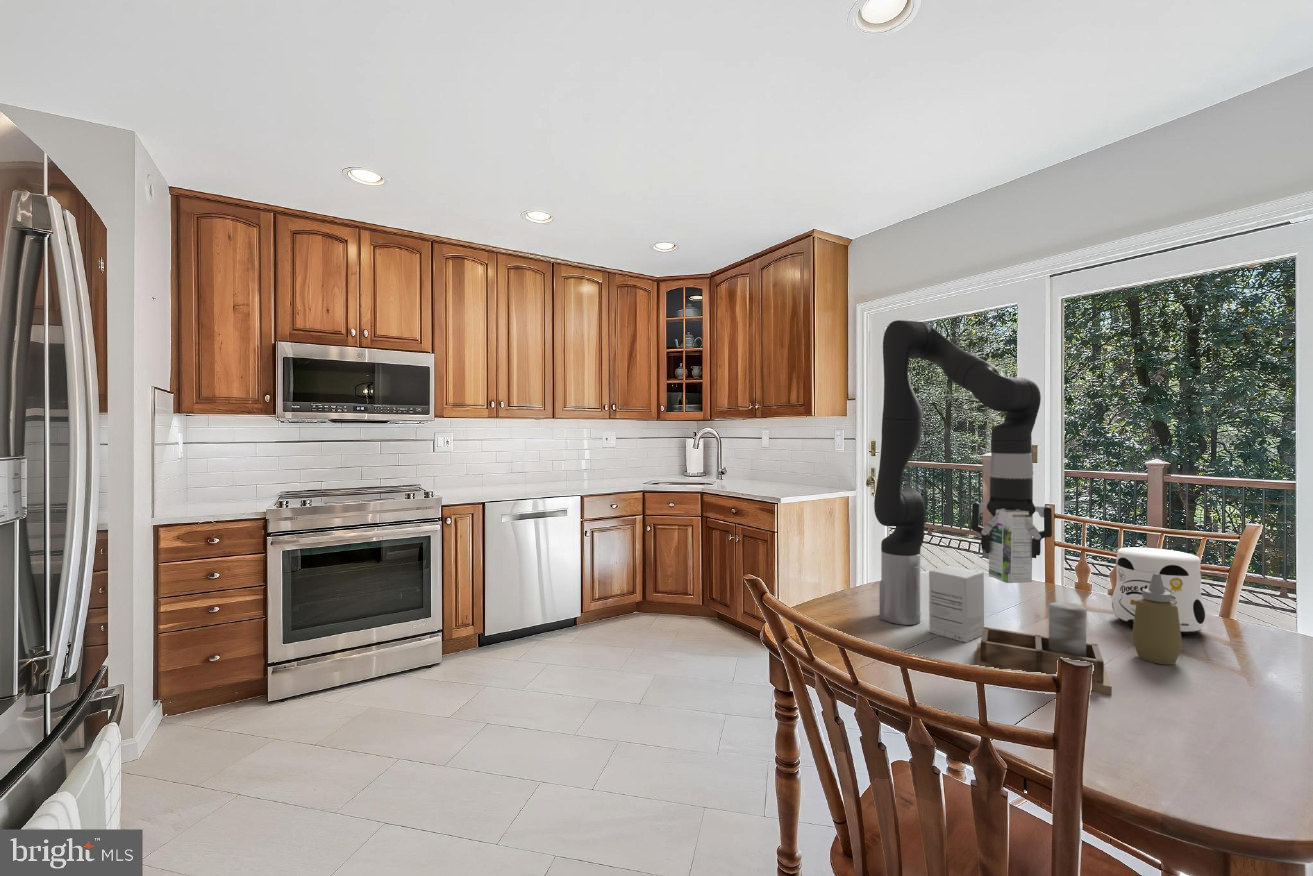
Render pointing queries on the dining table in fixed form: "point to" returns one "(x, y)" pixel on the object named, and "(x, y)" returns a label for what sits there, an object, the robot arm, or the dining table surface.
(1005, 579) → the syrup box
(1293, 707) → the dining table surface
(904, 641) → the dining table surface
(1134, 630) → the squeeze bottle
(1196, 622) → the milk container
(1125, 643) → the dining table surface
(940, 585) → the supplement box
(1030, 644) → the walnut caddy
